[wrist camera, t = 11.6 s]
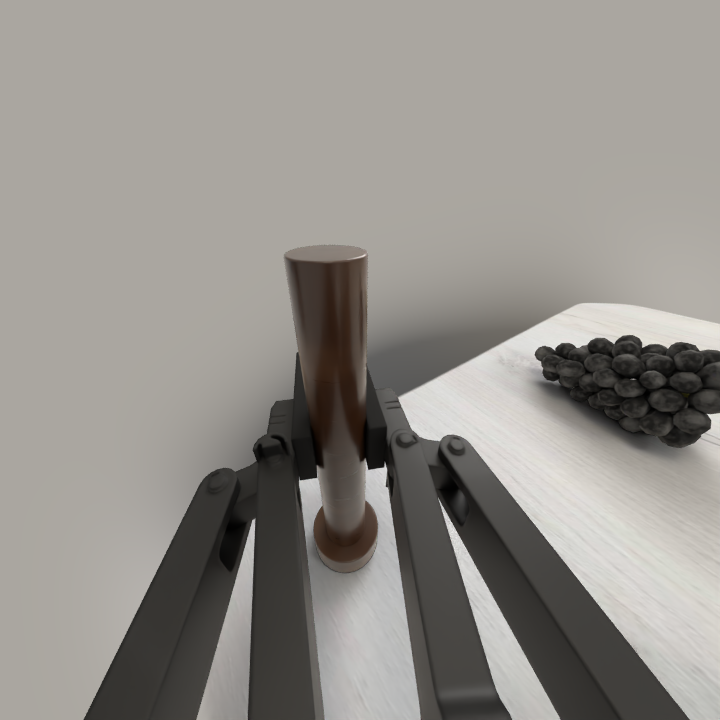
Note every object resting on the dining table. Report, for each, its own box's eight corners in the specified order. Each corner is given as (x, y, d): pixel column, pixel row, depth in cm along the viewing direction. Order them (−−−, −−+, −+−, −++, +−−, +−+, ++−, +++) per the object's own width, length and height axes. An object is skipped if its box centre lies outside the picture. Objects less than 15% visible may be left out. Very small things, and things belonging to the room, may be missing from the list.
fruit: (545, 302, 27) (800, 372, 16) (574, 311, 32) (786, 370, 21) (506, 375, 30) (696, 476, 19) (537, 373, 35) (704, 453, 24)
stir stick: (316, 579, 15) (237, 273, 6) (315, 510, 18) (263, 242, 9) (383, 565, 16) (416, 265, 6) (370, 500, 19) (378, 238, 9)
